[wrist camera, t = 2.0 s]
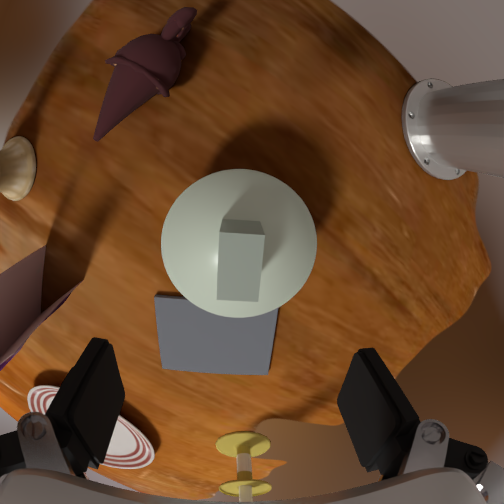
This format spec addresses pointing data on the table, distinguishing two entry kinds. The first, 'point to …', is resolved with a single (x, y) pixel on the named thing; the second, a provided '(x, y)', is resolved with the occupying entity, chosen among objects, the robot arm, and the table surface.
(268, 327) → the mat
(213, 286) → the lid
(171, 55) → the icecream
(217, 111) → the table surface
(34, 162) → the hand bell
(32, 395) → the dinner plate
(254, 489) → the candle
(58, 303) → the greeting card
